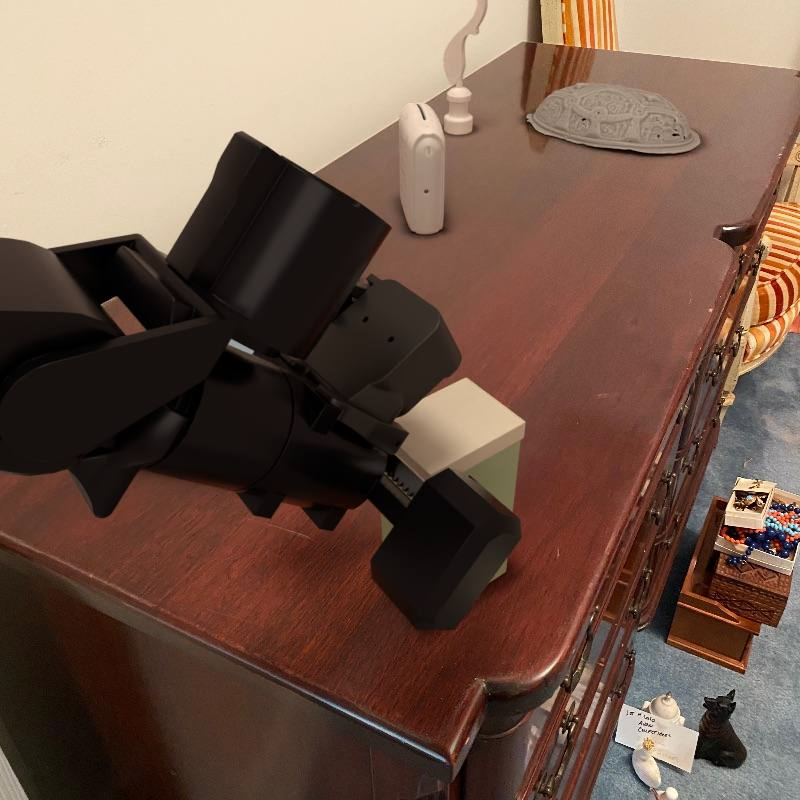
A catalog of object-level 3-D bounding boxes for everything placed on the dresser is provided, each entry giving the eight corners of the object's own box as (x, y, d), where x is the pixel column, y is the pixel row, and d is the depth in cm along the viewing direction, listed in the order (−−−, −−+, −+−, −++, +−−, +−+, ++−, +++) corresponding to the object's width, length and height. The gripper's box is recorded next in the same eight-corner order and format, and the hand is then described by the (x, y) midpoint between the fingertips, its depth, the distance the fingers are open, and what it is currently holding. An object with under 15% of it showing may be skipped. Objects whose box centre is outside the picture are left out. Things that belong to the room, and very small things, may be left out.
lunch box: (428, 625, 46) (429, 474, 38) (381, 572, 49) (372, 422, 41) (508, 572, 49) (526, 421, 41) (459, 525, 52) (466, 376, 44)
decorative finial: (436, 131, 110) (439, -71, 94) (450, 122, 112) (454, -76, 96) (473, 138, 107) (482, -68, 91) (485, 128, 110) (497, -73, 94)
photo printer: (447, 234, 85) (450, 123, 77) (409, 237, 85) (408, 126, 77) (431, 195, 93) (433, 91, 85) (397, 197, 93) (395, 93, 85)
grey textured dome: (677, 161, 98) (688, 106, 94) (506, 133, 110) (510, 83, 106) (713, 136, 108) (724, 86, 105) (554, 113, 121) (558, 67, 117)
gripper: (502, 373, 25) (656, 466, 37) (242, 188, 37) (423, 303, 49) (322, 634, 27) (525, 643, 39) (127, 377, 39) (329, 444, 50)
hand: (444, 488), depth 44 cm, fingers open, 9 cm apart
